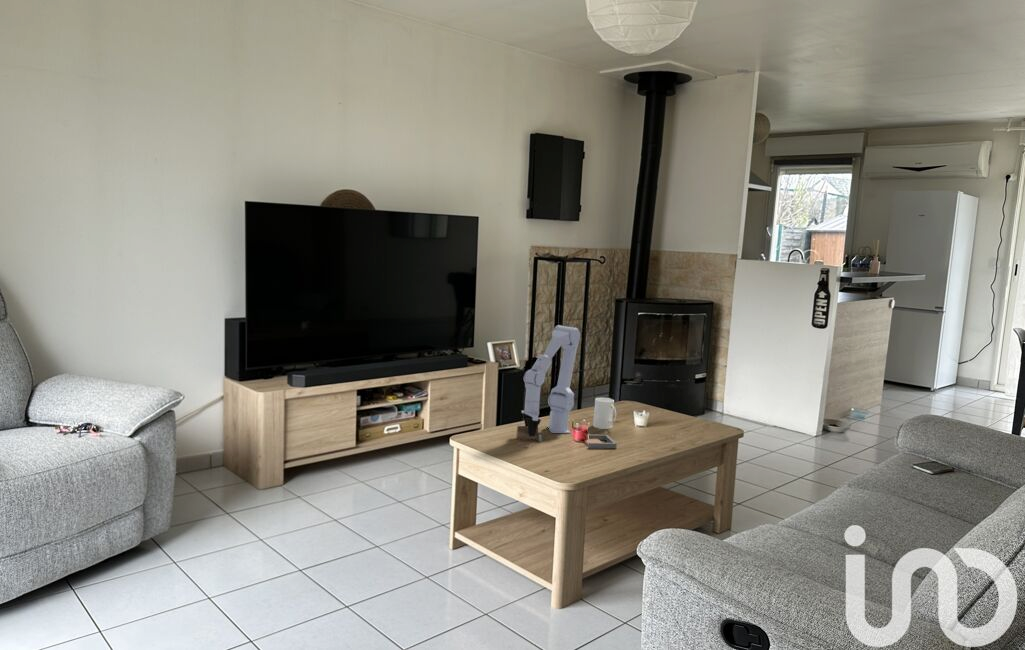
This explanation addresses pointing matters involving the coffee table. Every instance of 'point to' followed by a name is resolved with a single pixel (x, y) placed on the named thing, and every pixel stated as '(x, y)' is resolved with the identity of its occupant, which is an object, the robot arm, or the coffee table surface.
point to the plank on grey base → (527, 433)
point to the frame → (609, 443)
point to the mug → (604, 413)
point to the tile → (592, 441)
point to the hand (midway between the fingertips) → (530, 433)
